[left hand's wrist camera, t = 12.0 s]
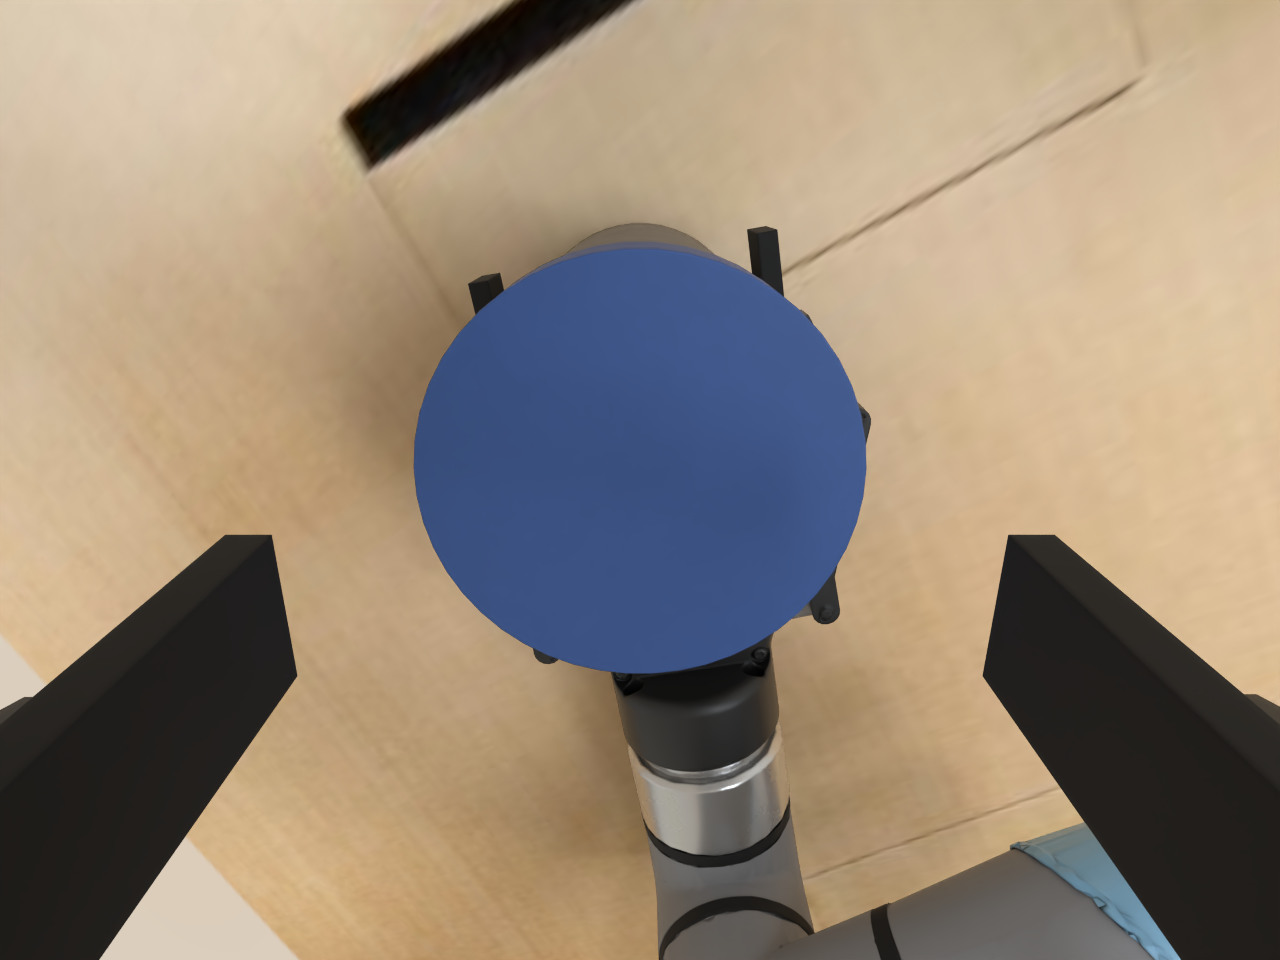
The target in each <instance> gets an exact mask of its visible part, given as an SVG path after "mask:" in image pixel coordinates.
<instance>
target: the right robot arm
mask: <svg viewBox="0 0 1280 960" xmlns="http://www.w3.org/2000/svg"><path fill="white" fill-rule="evenodd" d="M747 232H748V241H749V250H750V259H751V268H752V274H753V275H755V276H757V277H758V278H760V279H761V280H763V281H764V282H766V283H767V284H768V285H769V286H771V287H772V288H773V289H775V290H776V291H777V292H778V293H780V294H781V295H782V296H783V297H784V292H783V282H782V272H781V262H780V252H779V243H778V233H777V230H776V229H773V228H770V227H767V226H764V227H758V228H753V229H747ZM468 285H469V290H470V294H471V298H472V302H473V306H474V310H475V314H477V313H478V312H479V311H480V310H481V309H482V308H483V307H485V306H486V305H487V304H488V303H490V302H491V301H492V300H493V299H494V298H496V297H497V296H498V295H499V294H500V293H502V292H503V291H504V289H503V284H502V280H501V275H500V273H497V274H491V275H485V276H481V277H479V278H478V279H476V280H474V281H472V282H471V283H469V284H468ZM800 311H801V312H802V313H803V314H804V315H805V316H806V317H807V318H808V319H809V320H810V321H811V319H810V317H809V315H808V314H806V313H805V312H804V311H802V310H800ZM811 323H812V321H811ZM812 324H813V323H812ZM857 403H858V402H857ZM858 406H859V409H860V412H861V418H862V423H863V429H864V435H865V441H866V442H867V438H868V434H869V429H870V425H871V418H870V415H869V413H868V412H867V411H866V410H865V409H864V408H863V407H862V406H861V405H860V404H859V403H858ZM836 568H837V566H836ZM836 568H835V570H834V571H833V573H832V574H831V576H830V577H829V578H828V580H827V581H826V582H825V584H824V585H823V586H822V588H821V589H820V590H819V592H818V593H817V594H816V595H815V596H814V597H813V598H812V599H811V600H810V601H809V603H808V604H807V605H806V606H805V607H804V608H803V609H802V610H801V611H800V612H799V613H798V614H797V615H795V616H794V617H793V618H798V617H803V616H808V615H813V617H814V619H815V620H816V621H817V622H818V623H821V624H830V623H832V622H834V621H835V620H836V619H837V618H838V616H839V614H840V607H839V601H838V595H837V589H836V582H835V573H836ZM793 618H792V619H793ZM772 636H773V633H772V634H770V635H769V636H767V637H766V638H764V639H763V640H761V641H759V642H758V643H756V644H755V645H752V646H750V647H748V648H746V649H744V650H742V651H740V652H738V653H736V654H734V655H732V656H729V657H726V658H723V659H720V660H717V661H715V662H712V663H709V664H706V665H702V666H697V667H693V668H688V669H684V670H679V671H670V672H661V673H619V672H611V674H612V679H613V683H614V688H615V693H616V697H617V702H618V707H619V711H620V716H621V721H622V725H623V730H624V734H625V738H626V740H627V742H628V754H629V759H630V763H631V767H632V772H633V776H634V781H635V785H636V789H637V794H638V798H639V802H640V807H641V811H642V817H643V821H644V824H645V828H646V831H647V836H648V842H649V847H650V853H651V859H652V864H653V870H654V876H655V883H656V893H657V916H658V951H659V960H1181V959H1180V958H1179V956H1178V955H1177V953H1176V952H1175V951H1174V949H1173V948H1172V946H1171V945H1170V943H1169V942H1168V941H1167V939H1166V938H1165V936H1164V935H1163V933H1162V932H1161V931H1160V929H1159V928H1158V926H1157V925H1156V923H1155V922H1154V921H1153V919H1152V918H1151V916H1150V915H1149V913H1148V912H1147V911H1146V909H1145V908H1144V906H1143V905H1142V903H1141V902H1140V901H1139V899H1138V898H1137V896H1136V895H1135V893H1134V892H1133V891H1132V889H1131V888H1130V886H1129V885H1128V883H1127V882H1126V881H1125V879H1124V878H1123V876H1122V875H1121V873H1120V872H1119V870H1118V869H1117V868H1116V866H1115V865H1114V863H1113V862H1112V860H1111V859H1110V858H1109V856H1108V855H1107V853H1106V852H1105V850H1104V849H1103V848H1102V846H1101V845H1100V843H1099V842H1098V840H1097V839H1096V838H1095V836H1094V835H1093V833H1092V832H1091V830H1090V829H1089V828H1088V826H1087V825H1086V823H1085V822H1084V823H1081V824H1078V825H1075V826H1072V827H1069V828H1065V829H1062V830H1059V831H1056V832H1053V833H1050V834H1047V835H1044V836H1041V837H1038V838H1035V839H1032V840H1029V841H1026V842H1017V843H1014V844H1012V845H1010V851H1008V852H1006V853H1003V854H1001V855H999V856H997V857H994V858H992V859H990V860H988V861H985V862H983V863H981V864H979V865H976V866H974V867H972V868H970V869H967V870H965V871H963V872H961V873H958V874H956V875H954V876H952V877H950V878H947V879H945V880H943V881H941V882H938V883H936V884H934V885H932V886H929V887H927V888H925V889H923V890H920V891H918V892H916V893H914V894H911V895H909V896H907V897H905V898H902V899H900V900H898V901H896V902H893V903H888V904H885V905H882V906H880V907H878V908H876V909H872V910H870V911H867V912H865V913H863V914H860V915H858V916H855V917H853V918H851V919H848V920H846V921H843V922H841V923H838V924H836V925H834V926H831V927H829V928H826V929H824V930H822V931H819V932H817V933H815V932H814V929H813V924H812V920H811V916H810V912H809V908H808V903H807V899H806V895H805V890H804V886H803V882H802V877H801V872H800V866H799V861H798V854H797V847H796V841H795V835H794V829H793V823H792V817H791V811H790V798H789V781H788V774H787V767H786V759H785V752H784V744H783V737H782V729H781V724H780V722H779V720H778V718H779V706H778V698H777V690H776V682H775V674H774V667H773V659H772V651H771V640H772ZM533 650H534V655H535V657H536V659H537V660H538V661H539V662H542V663H544V664H551V663H555V662H556V661H557V660H558V659H557V658H554V657H551V656H548V655H546V654H544V653H542V652H540V651H538V650H536V649H534V648H533Z"/></svg>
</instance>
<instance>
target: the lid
mask: <svg viewBox="0 0 1280 960" xmlns="http://www.w3.org/2000/svg"><path fill="white" fill-rule="evenodd" d="M414 475H415V485H416V494H417V499H418V503H419V507H420V511H421V515H422V519H423V523H424V525H425V528H426V530H427V533H428V535H429V538H430V540H431V543H432V545H433V548H434V550H435V552H436V553H437V555H438V557H439V559H440V561H441V562H442V564H443V566H444V568H445V569H446V571H447V573H448V574H449V575H450V577H451V578H452V579H453V581H454V582H455V583H456V585H457V586H458V588H459V589H460V590H461V592H462V593H463V594H464V595H465V596H466V597H467V598H468V599H469V600H470V601H471V602H472V603H473V604H474V606H475V607H476V608H477V609H478V610H479V611H480V612H481V613H482V614H484V615H485V616H486V617H487V618H488V619H490V620H491V621H492V622H493V623H495V624H496V625H497V626H498V627H499V628H501V629H502V630H503V631H505V632H507V633H508V634H510V635H511V636H513V637H514V638H516V639H518V640H519V641H521V642H522V643H524V644H526V645H528V646H530V647H532V648H534V649H536V650H538V651H540V652H542V653H544V654H546V655H548V656H551V657H554V658H557V659H560V660H563V661H565V662H568V663H571V664H574V665H579V666H583V667H587V668H592V669H596V670H601V671H610V672H619V673H661V672H670V671H679V670H684V669H688V668H693V667H697V666H702V665H706V664H709V663H712V662H715V661H717V660H720V659H723V658H726V657H729V656H732V655H734V654H736V653H738V652H740V651H742V650H744V649H746V648H748V647H750V646H752V645H755V644H756V643H758V642H759V641H761V640H763V639H764V638H766V637H767V636H769V635H770V634H772V633H774V632H775V631H777V630H778V629H779V628H781V627H782V626H783V625H784V624H786V623H787V622H788V621H789V620H790V619H792V618H793V617H794V616H795V615H797V614H798V613H799V612H800V611H801V610H802V609H803V608H804V607H805V606H806V605H807V604H808V603H809V601H810V600H811V599H812V598H813V597H814V596H815V595H816V594H817V593H818V592H819V590H820V589H821V588H822V586H823V585H824V584H825V582H826V581H827V580H828V578H829V577H830V576H831V574H832V573H833V571H834V570H835V568H836V566H837V564H838V562H839V561H840V559H841V557H842V555H843V554H844V552H845V550H846V548H847V546H848V543H849V541H850V538H851V536H852V533H853V531H854V528H855V526H856V523H857V519H858V515H859V511H860V507H861V503H862V500H863V494H864V485H865V476H866V441H865V435H864V429H863V423H862V418H861V412H860V409H859V406H858V403H857V400H856V397H855V394H854V391H853V388H852V385H851V383H850V381H849V379H848V377H847V375H846V372H845V370H844V368H843V366H842V364H841V362H840V360H839V358H838V357H837V355H836V354H835V352H834V351H833V350H832V348H831V347H830V345H829V344H828V342H827V341H826V339H825V338H824V336H823V335H822V334H821V332H820V331H819V330H818V329H817V328H816V327H815V326H814V325H813V324H812V323H811V321H810V320H809V319H808V318H807V317H806V316H805V315H804V314H803V313H802V312H801V311H800V310H799V309H798V308H797V307H795V306H794V305H793V304H792V303H791V302H789V301H788V300H787V299H786V298H785V297H783V296H782V295H781V294H780V293H778V292H777V291H776V290H775V289H773V288H772V287H771V286H769V285H768V284H767V283H766V282H764V281H763V280H761V279H760V278H758V277H757V276H755V275H753V274H752V273H750V272H748V271H747V270H745V269H744V268H742V267H740V266H739V265H737V264H734V263H732V262H730V261H727V260H725V259H723V258H721V257H718V256H716V255H714V254H711V253H708V252H704V251H701V250H697V249H694V248H690V247H687V246H682V245H675V244H668V243H661V242H620V243H612V244H605V245H598V246H594V247H590V248H587V249H583V250H579V251H576V252H572V253H569V254H566V255H564V256H562V257H559V258H557V259H555V260H553V261H550V262H548V263H546V264H543V265H541V266H540V267H538V268H537V269H535V270H533V271H532V272H530V273H528V274H527V275H525V276H523V277H522V278H520V279H518V280H517V281H516V282H515V283H513V284H512V285H511V286H509V287H508V288H507V289H505V290H504V291H503V292H502V293H500V294H499V295H498V296H497V297H496V298H494V299H493V300H492V301H491V302H490V303H488V304H487V305H486V306H485V307H483V308H482V309H481V310H480V311H479V312H478V313H477V314H476V315H475V316H474V317H473V318H472V319H471V320H470V322H469V323H468V324H467V325H466V326H465V327H464V328H463V329H462V330H461V331H460V332H459V334H458V335H457V337H456V338H455V339H454V341H453V342H452V344H451V345H450V347H449V348H448V350H447V351H446V353H445V354H444V355H443V357H442V358H441V361H440V363H439V365H438V367H437V369H436V371H435V373H434V375H433V377H432V379H431V381H430V383H429V385H428V388H427V391H426V394H425V397H424V400H423V403H422V406H421V409H420V413H419V418H418V424H417V430H416V435H415V445H414Z"/></svg>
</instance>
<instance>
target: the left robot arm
mask: <svg viewBox="0 0 1280 960" xmlns="http://www.w3.org/2000/svg"><path fill="white" fill-rule="evenodd" d="M296 677H297V671H296V666H295V660H294V655H293V649H292V644H291V638H290V633H289V627H288V622H287V616H286V611H285V605H284V600H283V594H282V589H281V583H280V578H279V573H278V567H277V562H276V556H275V551H274V545H273V540H272V535H225V536H223V537H222V538H221V539H220V540H219V541H218V542H216V543H215V544H214V545H213V546H212V547H210V548H209V549H208V550H207V551H206V552H204V553H203V554H202V555H201V556H200V557H199V558H197V559H196V560H195V561H194V562H193V563H191V564H190V565H189V566H188V567H187V568H185V569H184V570H183V571H182V572H181V573H180V574H178V575H177V576H176V577H175V578H174V579H172V580H171V581H170V582H169V583H168V584H167V585H165V586H164V587H163V588H162V589H161V590H159V591H158V592H157V593H156V594H155V595H153V596H152V597H151V598H150V599H149V600H148V601H146V602H145V603H144V604H143V605H142V606H140V607H139V608H138V609H137V610H136V611H134V612H133V613H132V614H131V615H130V616H129V617H127V618H126V619H125V620H124V621H123V622H121V623H120V624H119V625H118V626H117V627H115V628H114V629H113V630H112V631H111V632H110V633H108V634H107V635H106V636H105V637H104V638H102V639H101V640H100V641H99V642H98V643H96V644H95V645H94V646H93V647H92V648H91V649H89V650H88V651H87V652H86V653H85V654H83V655H82V656H81V657H80V658H79V659H77V660H76V661H75V662H74V663H73V664H72V665H70V666H69V667H68V668H67V669H66V670H64V671H63V672H62V673H61V674H60V675H58V676H57V677H56V678H55V679H54V680H53V681H51V682H50V683H49V684H48V685H47V686H45V687H44V688H43V689H42V690H41V691H39V692H38V693H37V694H36V695H35V696H34V697H24V698H22V699H20V700H18V701H16V702H14V703H12V704H11V705H9V706H7V707H5V708H3V709H1V710H0V960H99V959H100V958H101V956H102V955H103V953H104V952H105V951H106V949H107V948H108V946H109V945H110V943H111V942H112V941H113V939H114V938H115V936H116V935H117V933H118V932H119V931H120V929H121V928H122V926H123V925H124V923H125V922H126V921H127V919H128V918H129V916H130V915H131V913H132V912H133V910H134V909H135V908H136V906H137V905H138V903H139V902H140V901H141V899H142V898H143V896H144V895H145V893H146V892H147V891H148V889H149V888H150V886H151V885H152V883H153V882H154V880H155V879H156V877H157V876H158V875H159V873H160V872H161V870H162V869H163V868H164V866H165V865H166V863H167V862H168V860H169V859H170V858H171V856H172V855H173V853H174V852H175V850H176V849H177V848H178V846H179V845H180V843H181V842H182V840H183V839H184V838H185V836H186V835H187V833H188V832H189V830H190V829H191V828H192V826H193V825H194V823H195V822H196V820H197V819H198V818H199V816H200V815H201V813H202V812H203V810H204V809H205V808H206V806H207V805H208V803H209V802H210V800H211V799H212V797H213V796H214V795H215V793H216V792H217V790H218V789H219V787H220V786H221V785H222V783H223V782H224V780H225V779H226V777H227V776H228V775H229V773H230V772H231V770H232V769H233V767H234V766H235V765H236V763H237V762H238V760H239V759H240V757H241V756H242V755H243V753H244V752H245V750H246V749H247V747H248V746H249V745H250V743H251V742H252V740H253V739H254V737H255V736H256V735H257V733H258V732H259V730H260V729H261V727H262V726H263V724H264V723H265V722H266V720H267V719H268V717H269V716H270V714H271V713H272V712H273V710H274V709H275V707H276V706H277V704H278V703H279V702H280V700H281V699H282V697H283V696H284V694H285V693H286V692H287V690H288V689H289V687H290V686H291V684H292V683H293V682H294V680H295V679H296ZM983 677H984V679H985V680H986V682H987V683H988V684H989V686H990V687H991V689H992V690H993V692H994V693H995V694H996V696H997V697H998V699H999V700H1000V702H1001V703H1002V704H1003V706H1004V707H1005V709H1006V710H1007V712H1008V713H1009V714H1010V716H1011V717H1012V719H1013V720H1014V722H1015V723H1016V724H1017V726H1018V727H1019V729H1020V730H1021V732H1022V733H1023V735H1024V736H1025V737H1026V739H1027V740H1028V742H1029V743H1030V745H1031V746H1032V747H1033V749H1034V750H1035V752H1036V753H1037V755H1038V756H1039V757H1040V759H1041V760H1042V762H1043V763H1044V765H1045V766H1046V767H1047V769H1048V770H1049V772H1050V773H1051V775H1052V776H1053V777H1054V779H1055V780H1056V782H1057V783H1058V785H1059V786H1060V787H1061V789H1062V790H1063V792H1064V793H1065V795H1066V796H1067V797H1068V799H1069V800H1070V802H1071V803H1072V805H1073V806H1074V808H1075V809H1076V810H1077V812H1078V813H1079V815H1080V816H1081V818H1082V819H1083V820H1084V822H1085V823H1086V825H1087V826H1088V828H1089V829H1090V830H1091V832H1092V833H1093V835H1094V836H1095V838H1096V839H1097V840H1098V842H1099V843H1100V845H1101V846H1102V848H1103V849H1104V850H1105V852H1106V853H1107V855H1108V856H1109V858H1110V859H1111V860H1112V862H1113V863H1114V865H1115V866H1116V868H1117V869H1118V870H1119V872H1120V873H1121V875H1122V876H1123V878H1124V879H1125V881H1126V882H1127V883H1128V885H1129V886H1130V888H1131V889H1132V891H1133V892H1134V893H1135V895H1136V896H1137V898H1138V899H1139V901H1140V902H1141V903H1142V905H1143V906H1144V908H1145V909H1146V911H1147V912H1148V913H1149V915H1150V916H1151V918H1152V919H1153V921H1154V922H1155V923H1156V925H1157V926H1158V928H1159V929H1160V931H1161V932H1162V933H1163V935H1164V936H1165V938H1166V939H1167V941H1168V942H1169V943H1170V945H1171V946H1172V948H1173V949H1174V951H1175V952H1176V953H1177V955H1178V956H1179V958H1180V959H1181V960H1280V707H1279V706H1277V705H1275V704H1274V703H1272V702H1270V701H1268V700H1266V699H1264V698H1262V697H1261V696H1259V695H1257V694H1243V693H1242V692H1241V691H1239V690H1238V689H1237V688H1236V687H1235V686H1233V685H1232V684H1231V683H1230V682H1229V681H1227V680H1226V679H1225V678H1224V677H1223V676H1222V675H1220V674H1219V673H1218V672H1217V671H1216V670H1214V669H1213V668H1212V667H1211V666H1210V665H1208V664H1207V663H1206V662H1205V661H1204V660H1203V659H1201V658H1200V657H1199V656H1198V655H1197V654H1195V653H1194V652H1193V651H1192V650H1191V649H1189V648H1188V647H1187V646H1186V645H1185V644H1184V643H1182V642H1181V641H1180V640H1179V639H1178V638H1176V637H1175V636H1174V635H1173V634H1172V633H1170V632H1169V631H1168V630H1167V629H1166V628H1165V627H1163V626H1162V625H1161V624H1160V623H1159V622H1157V621H1156V620H1155V619H1154V618H1153V617H1151V616H1150V615H1149V614H1148V613H1147V612H1146V611H1144V610H1143V609H1142V608H1141V607H1140V606H1138V605H1137V604H1136V603H1135V602H1134V601H1132V600H1131V599H1130V598H1129V597H1128V596H1127V595H1125V594H1124V593H1123V592H1122V591H1121V590H1119V589H1118V588H1117V587H1116V586H1115V585H1113V584H1112V583H1111V582H1110V581H1109V580H1108V579H1106V578H1105V577H1104V576H1103V575H1102V574H1100V573H1099V572H1098V571H1097V570H1096V569H1095V568H1093V567H1092V566H1091V565H1090V564H1089V563H1087V562H1086V561H1085V560H1084V559H1083V558H1081V557H1080V556H1079V555H1078V554H1077V553H1076V552H1074V551H1073V550H1072V549H1071V548H1070V547H1068V546H1067V545H1066V544H1065V543H1064V542H1062V541H1061V540H1060V539H1059V538H1058V537H1057V536H1055V535H1008V540H1007V545H1006V551H1005V556H1004V562H1003V567H1002V573H1001V578H1000V583H999V589H998V594H997V600H996V605H995V611H994V616H993V622H992V627H991V633H990V638H989V644H988V649H987V655H986V660H985V666H984V671H983Z"/></svg>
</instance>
